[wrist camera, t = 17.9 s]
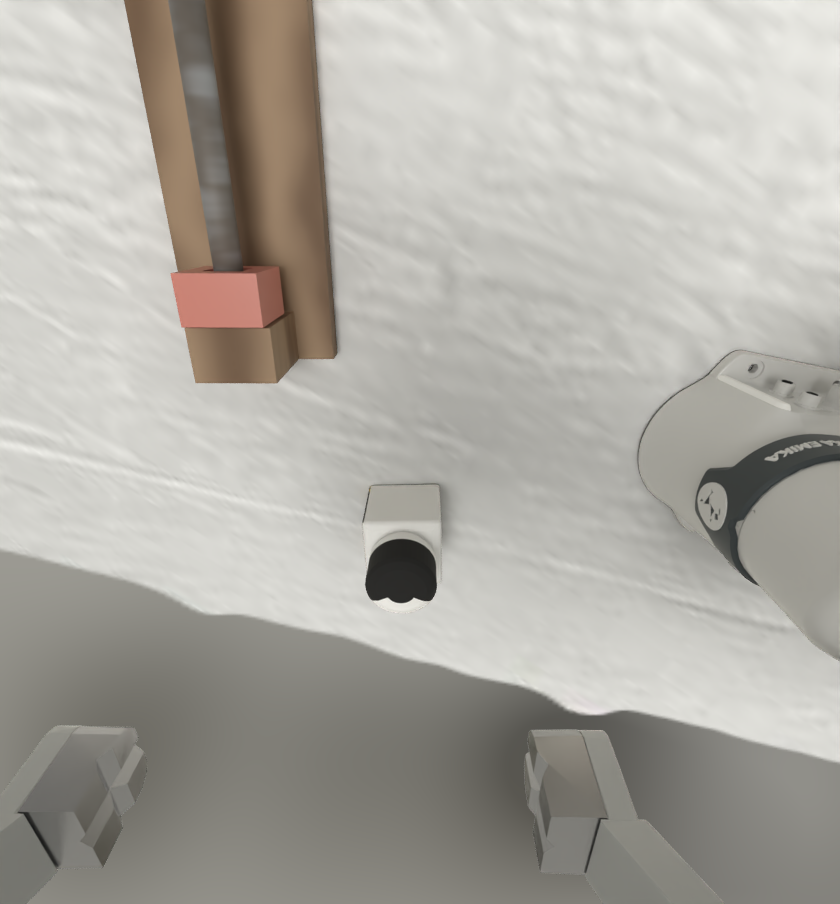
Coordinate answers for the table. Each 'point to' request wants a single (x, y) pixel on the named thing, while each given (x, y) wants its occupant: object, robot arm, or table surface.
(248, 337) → the rod stand
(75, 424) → the table surface
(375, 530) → the medicine bottle
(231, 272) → the square nut
